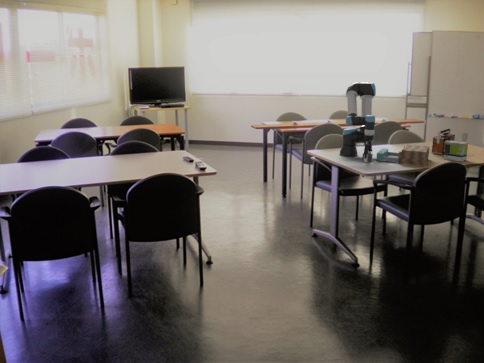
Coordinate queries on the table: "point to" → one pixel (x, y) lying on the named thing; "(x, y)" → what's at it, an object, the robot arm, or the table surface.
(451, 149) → the tea box
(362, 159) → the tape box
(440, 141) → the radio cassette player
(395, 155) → the drawer
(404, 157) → the wooden drawer cabinet
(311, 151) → the table surface
